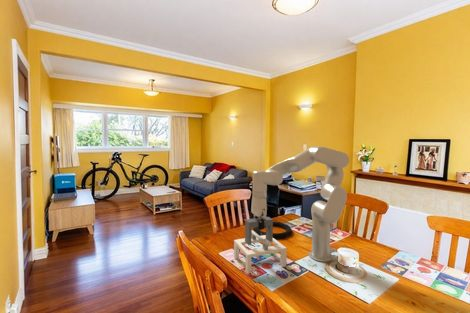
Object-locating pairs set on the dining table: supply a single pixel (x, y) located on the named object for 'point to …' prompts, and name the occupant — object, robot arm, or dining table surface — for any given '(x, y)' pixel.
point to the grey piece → (255, 223)
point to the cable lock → (276, 235)
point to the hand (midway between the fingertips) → (259, 227)
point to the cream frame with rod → (259, 249)
